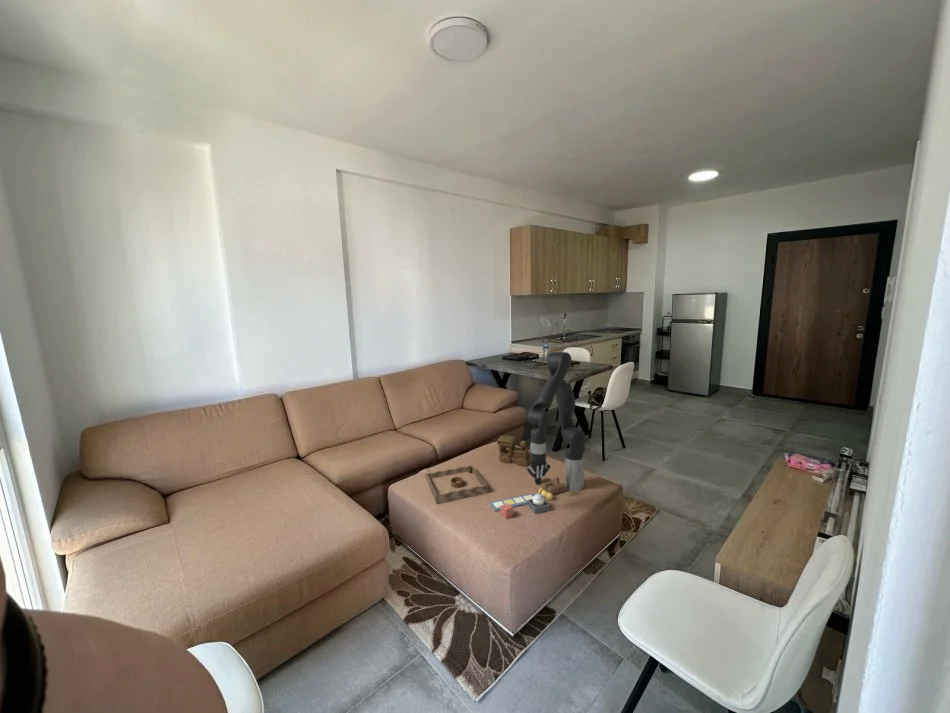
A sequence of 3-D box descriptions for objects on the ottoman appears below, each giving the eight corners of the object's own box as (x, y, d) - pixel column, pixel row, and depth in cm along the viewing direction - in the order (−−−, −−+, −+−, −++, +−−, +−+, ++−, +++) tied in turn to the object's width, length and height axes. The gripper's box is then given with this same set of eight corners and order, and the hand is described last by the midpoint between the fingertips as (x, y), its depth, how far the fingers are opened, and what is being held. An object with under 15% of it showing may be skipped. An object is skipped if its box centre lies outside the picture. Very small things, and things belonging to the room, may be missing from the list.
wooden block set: (534, 477, 208) (549, 473, 212) (537, 493, 206) (552, 488, 211) (553, 479, 192) (569, 474, 196) (557, 497, 190) (573, 492, 195)
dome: (540, 499, 189) (540, 490, 188) (546, 505, 184) (546, 496, 183) (530, 501, 187) (530, 492, 186) (536, 507, 182) (535, 498, 181)
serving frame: (472, 473, 224) (471, 465, 223) (488, 494, 200) (487, 485, 199) (425, 481, 215) (425, 473, 214) (436, 504, 191) (436, 495, 190)
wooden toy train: (496, 466, 233) (496, 440, 230) (503, 458, 243) (502, 434, 241) (528, 471, 225) (528, 444, 222) (533, 463, 235) (533, 437, 233)
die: (507, 511, 183) (507, 503, 182) (513, 515, 179) (513, 507, 179) (500, 514, 181) (499, 506, 180) (505, 519, 177) (505, 510, 176)
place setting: (440, 484, 213) (439, 474, 212) (470, 475, 223) (469, 465, 222) (455, 498, 198) (455, 487, 197) (487, 486, 209) (486, 476, 208)
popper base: (541, 502, 191) (541, 496, 190) (549, 510, 183) (549, 504, 183) (527, 505, 188) (527, 500, 188) (534, 513, 181) (534, 508, 180)
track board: (532, 494, 198) (532, 492, 198) (539, 501, 191) (539, 499, 191) (489, 503, 190) (489, 502, 190) (495, 511, 183) (494, 509, 183)
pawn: (537, 496, 195) (549, 502, 190) (539, 487, 195) (551, 493, 190) (541, 495, 198) (553, 501, 193) (543, 487, 198) (555, 493, 193)
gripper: (546, 445, 187) (546, 478, 189) (522, 449, 183) (522, 483, 185) (554, 451, 180) (554, 485, 182) (529, 455, 176) (529, 490, 178)
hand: (538, 484), depth 184 cm, fingers closed
